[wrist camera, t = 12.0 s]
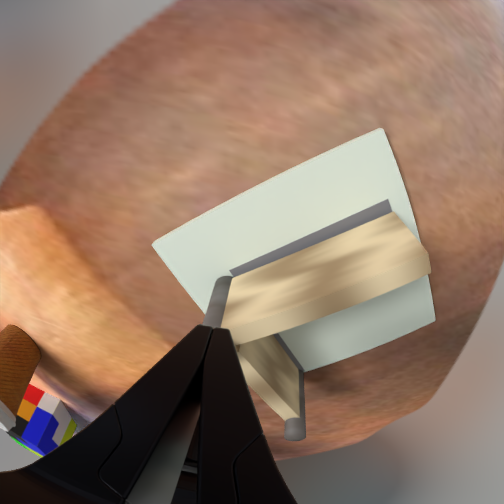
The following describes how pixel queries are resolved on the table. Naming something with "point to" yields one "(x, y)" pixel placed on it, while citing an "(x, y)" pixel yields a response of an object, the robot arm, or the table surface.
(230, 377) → the robot arm
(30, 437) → the puzzle toy
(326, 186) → the board
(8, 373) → the disposable coffee cup
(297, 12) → the table surface
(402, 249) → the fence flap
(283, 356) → the fixed fence panel
